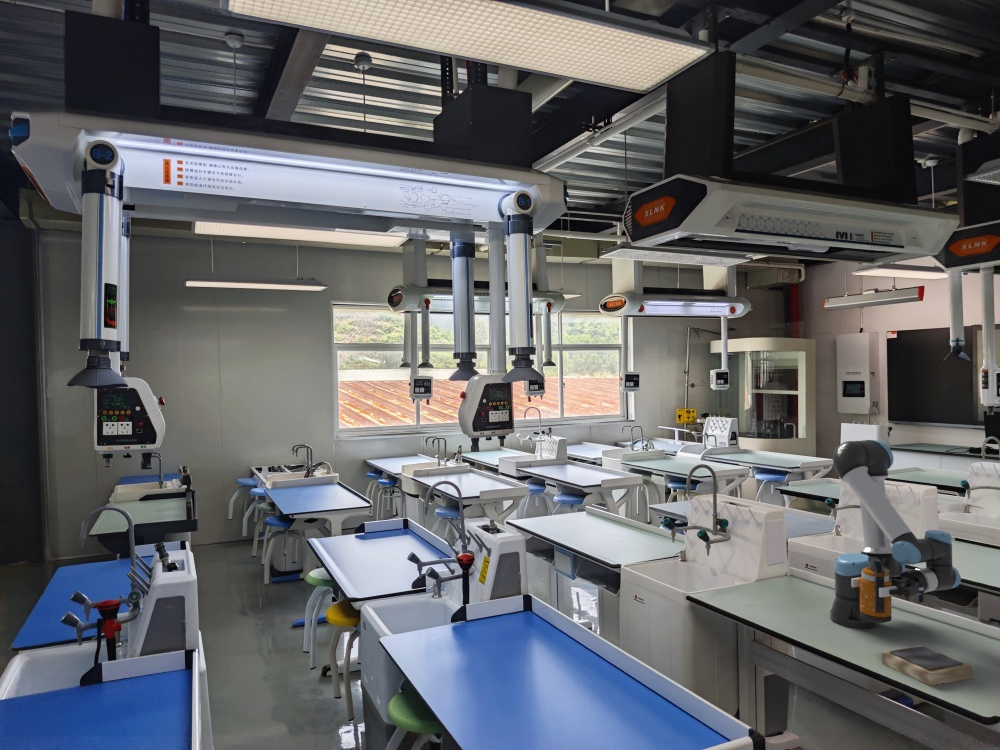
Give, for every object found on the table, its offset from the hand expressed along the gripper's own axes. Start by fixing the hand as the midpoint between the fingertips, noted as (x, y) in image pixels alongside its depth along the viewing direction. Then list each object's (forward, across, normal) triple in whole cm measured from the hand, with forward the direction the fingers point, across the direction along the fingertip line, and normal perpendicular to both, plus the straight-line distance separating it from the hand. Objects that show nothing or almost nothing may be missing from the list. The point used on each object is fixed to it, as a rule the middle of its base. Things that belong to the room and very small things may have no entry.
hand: (865, 587), depth 214 cm
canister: (-4, 0, -11) cm, 12 cm away
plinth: (-4, -17, -20) cm, 27 cm away
